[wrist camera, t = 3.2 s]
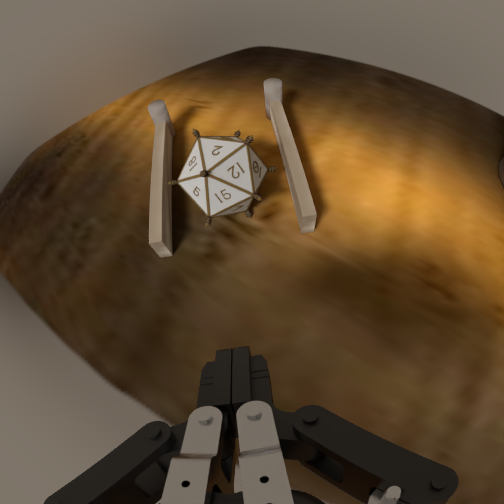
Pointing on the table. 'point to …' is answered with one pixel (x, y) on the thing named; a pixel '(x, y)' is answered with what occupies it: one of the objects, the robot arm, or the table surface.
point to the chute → (163, 169)
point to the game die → (222, 175)
